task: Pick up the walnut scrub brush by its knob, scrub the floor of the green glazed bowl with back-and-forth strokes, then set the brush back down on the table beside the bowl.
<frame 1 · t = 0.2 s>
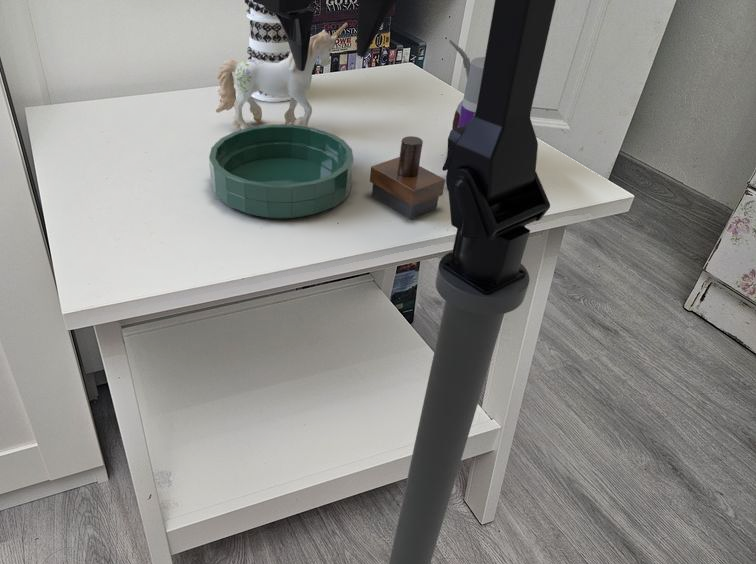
hand: (331, 63, 77), 13 cm above the table, tool pointing down, fingers open, 9 cm apart
mate gourd: (468, 160, 88), on the table
wash bowl: (281, 186, 81), on the table
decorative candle: (274, 93, 106), on the table
scrub brush: (403, 202, 79), on the table
unicorn figurine: (282, 123, 97), on the table
container: (465, 185, 82), on the table
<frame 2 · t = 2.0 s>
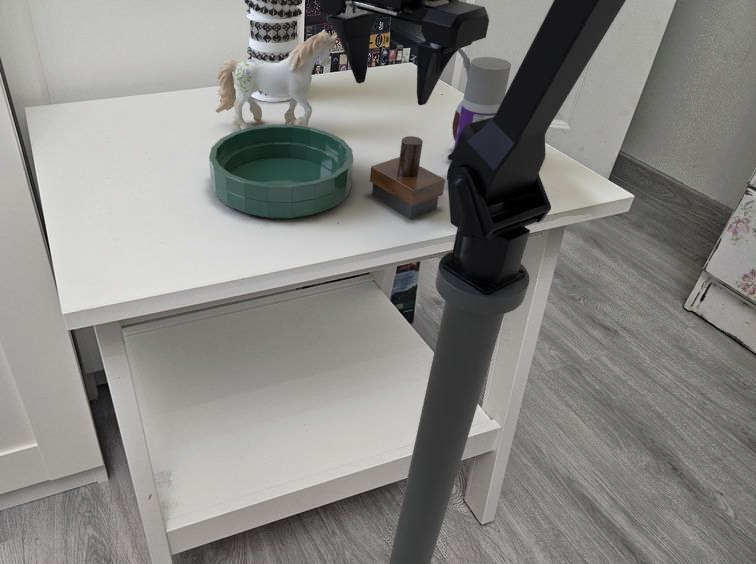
hand: (390, 93, 72), 12 cm above the table, tool pointing down, fingers open, 9 cm apart
nothing on the table moved.
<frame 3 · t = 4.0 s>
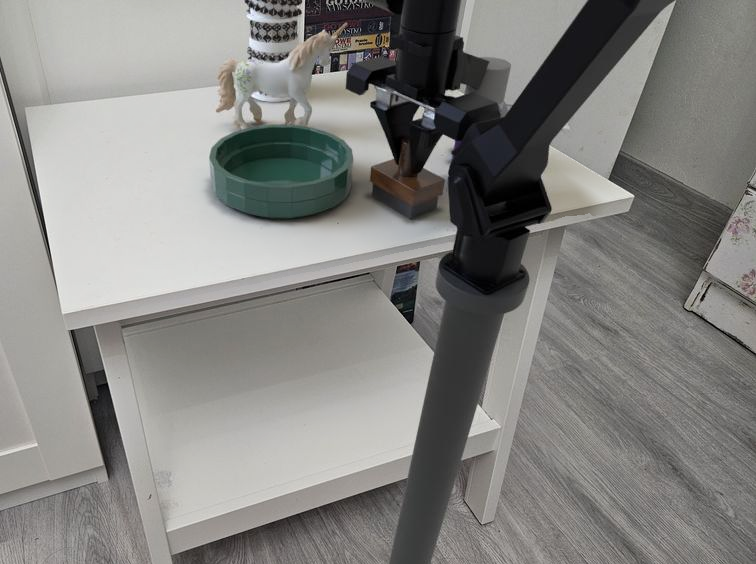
hand: (408, 168, 76), 5 cm above the table, tool pointing down, fingers closed on scrub brush, 2 cm apart
scrub brush: (403, 202, 79), on the table, touching gripper
everything else where it was.
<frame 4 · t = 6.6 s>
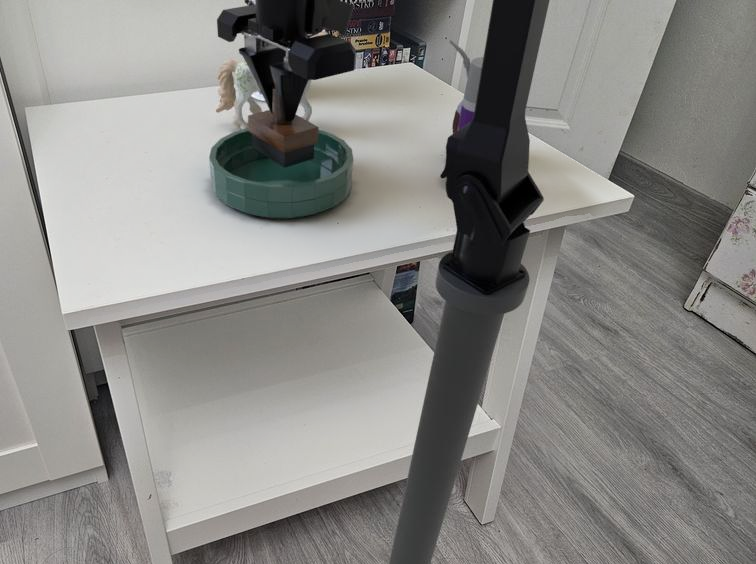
hand: (282, 117, 75), 9 cm above the table, tool pointing down, fingers closed on scrub brush, 2 cm apart
scrub brush: (282, 153, 78), point 5 cm above the table, touching gripper
everything else where it was.
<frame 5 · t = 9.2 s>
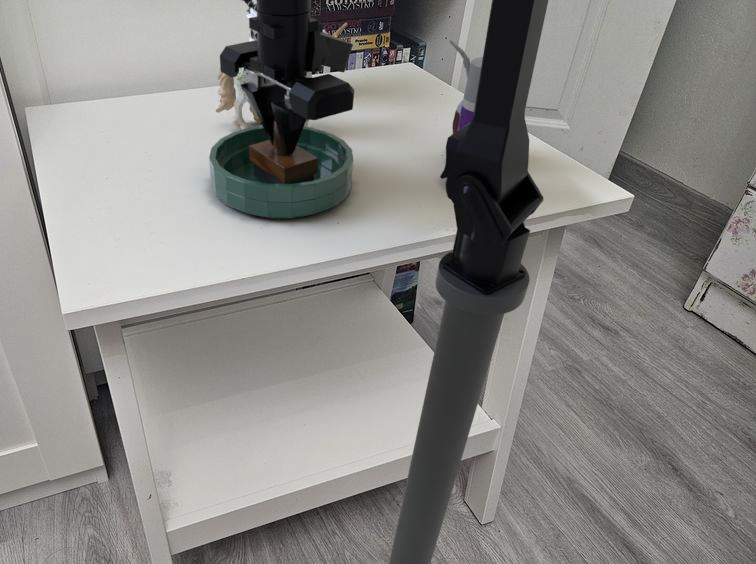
hand: (283, 149, 78), 5 cm above the table, tool pointing down, fingers closed on scrub brush, 2 cm apart
scrub brush: (283, 181, 81), point 1 cm above the table, touching gripper
everything else where it was.
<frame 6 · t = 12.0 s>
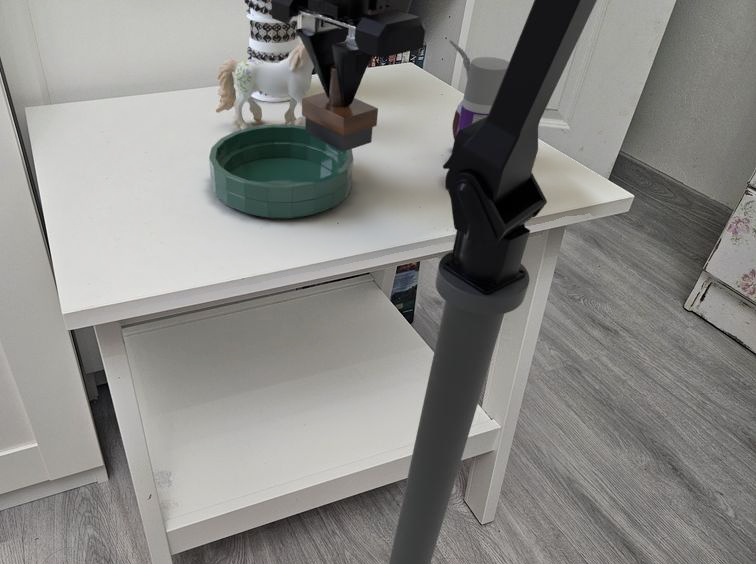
hand: (339, 101, 72), 12 cm above the table, tool pointing down, fingers closed on scrub brush, 2 cm apart
scrub brush: (337, 137, 75), point 7 cm above the table, touching gripper
everything else where it was.
when the fingers open (4 cm above the table, at t = 14.6 s): scrub brush stays where it is, on the table.
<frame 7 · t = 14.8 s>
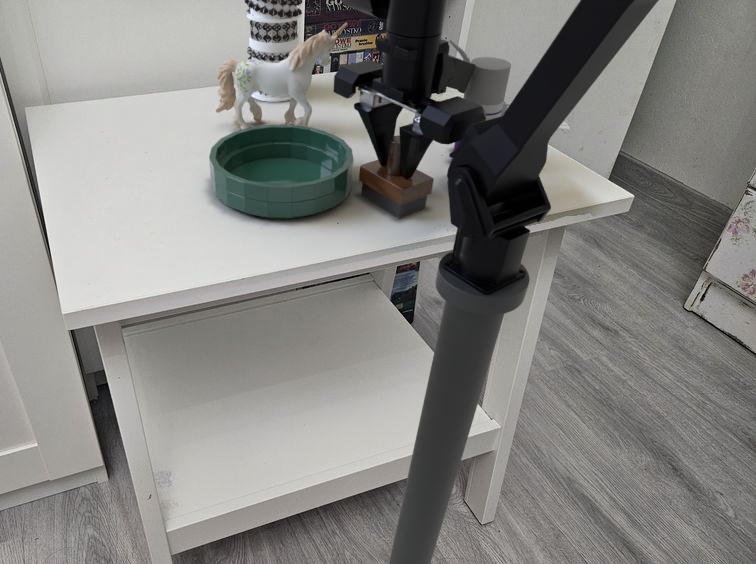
hand: (395, 171, 76), 4 cm above the table, tool pointing down, fingers open, 4 cm apart
scrub brush: (392, 201, 79), on the table
everything else where it was.
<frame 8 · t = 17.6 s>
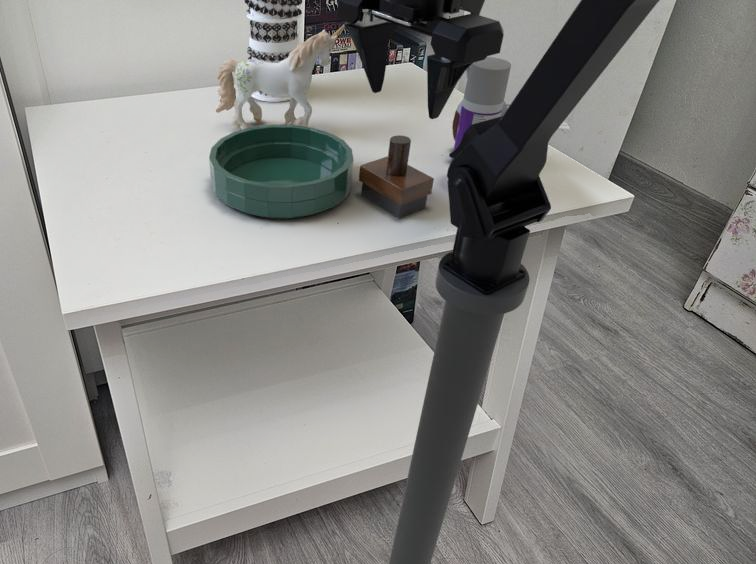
hand: (404, 104, 71), 12 cm above the table, tool pointing down, fingers open, 9 cm apart
nothing on the table moved.
at the end: scrub brush inside the target area (0.1 cm from its centre), on the table; scrub brush tilted 0°; the gripper is holding nothing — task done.
